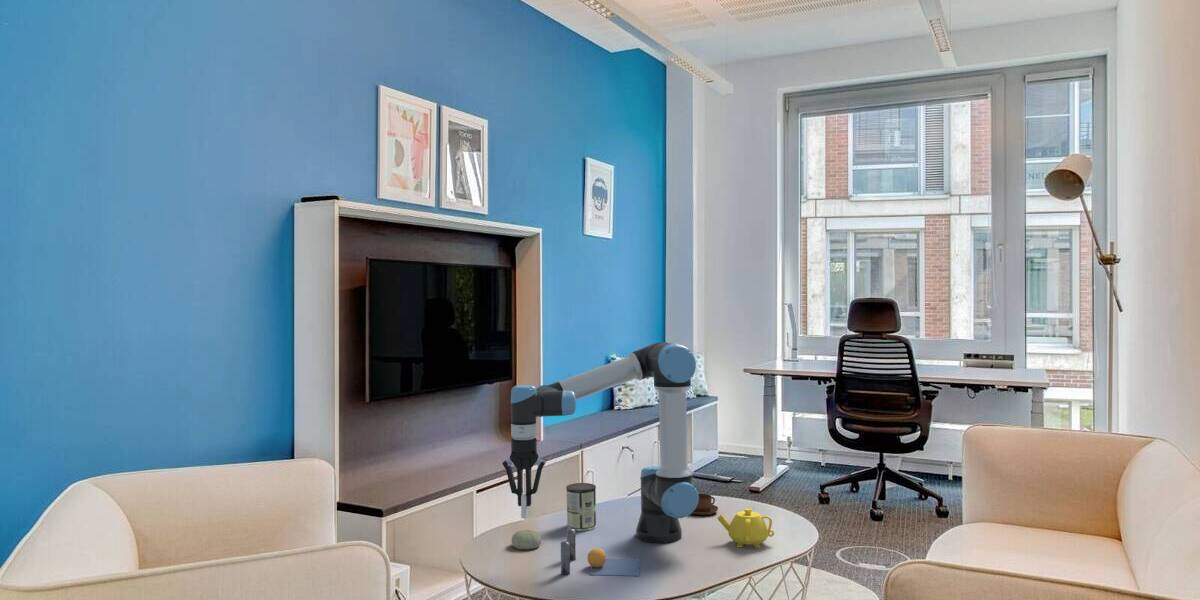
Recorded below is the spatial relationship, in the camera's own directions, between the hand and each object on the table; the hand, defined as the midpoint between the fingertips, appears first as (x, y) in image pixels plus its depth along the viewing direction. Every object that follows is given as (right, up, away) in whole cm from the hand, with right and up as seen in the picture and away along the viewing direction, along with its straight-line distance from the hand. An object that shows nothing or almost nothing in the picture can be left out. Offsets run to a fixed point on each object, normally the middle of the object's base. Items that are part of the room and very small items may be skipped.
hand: (524, 516), depth 234 cm
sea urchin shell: (-1, -15, +18) cm, 23 cm away
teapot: (+69, -14, +19) cm, 73 cm away
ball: (+21, -11, -2) cm, 24 cm away
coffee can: (+16, -14, +39) cm, 44 cm away
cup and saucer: (+60, -14, +55) cm, 83 cm away
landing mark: (+27, -14, -3) cm, 31 cm away
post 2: (+14, -14, +5) cm, 20 cm away
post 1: (+12, -14, -8) cm, 20 cm away
